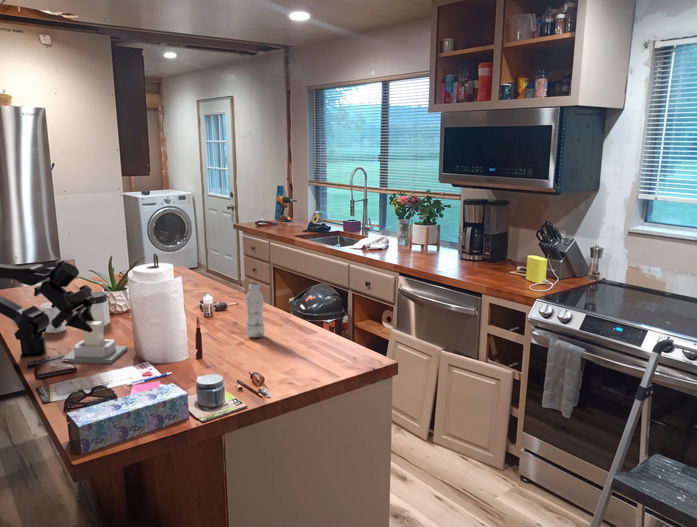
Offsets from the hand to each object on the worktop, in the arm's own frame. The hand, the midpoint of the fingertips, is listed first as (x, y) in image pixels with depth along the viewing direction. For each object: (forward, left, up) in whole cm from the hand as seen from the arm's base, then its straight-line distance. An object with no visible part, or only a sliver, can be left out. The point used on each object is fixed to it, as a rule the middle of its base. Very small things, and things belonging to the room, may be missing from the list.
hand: (94, 329), depth 181 cm
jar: (-4, +33, -9) cm, 35 cm away
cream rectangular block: (0, 0, -7) cm, 7 cm away
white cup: (-18, +30, -9) cm, 36 cm away
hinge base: (0, 0, -9) cm, 9 cm away
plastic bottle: (+53, +5, -9) cm, 54 cm away
